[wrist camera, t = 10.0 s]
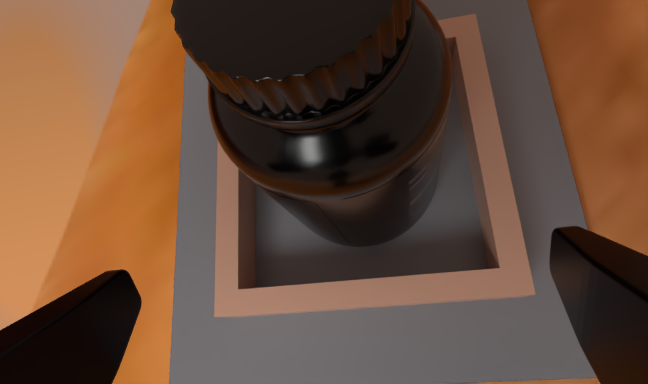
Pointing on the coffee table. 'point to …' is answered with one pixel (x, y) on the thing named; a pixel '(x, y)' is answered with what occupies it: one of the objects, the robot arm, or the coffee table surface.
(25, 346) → the robot arm
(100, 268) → the coffee table surface
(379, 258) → the dock tray
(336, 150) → the supplement bottle
